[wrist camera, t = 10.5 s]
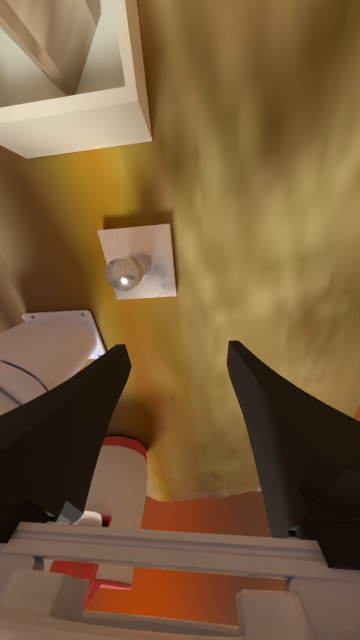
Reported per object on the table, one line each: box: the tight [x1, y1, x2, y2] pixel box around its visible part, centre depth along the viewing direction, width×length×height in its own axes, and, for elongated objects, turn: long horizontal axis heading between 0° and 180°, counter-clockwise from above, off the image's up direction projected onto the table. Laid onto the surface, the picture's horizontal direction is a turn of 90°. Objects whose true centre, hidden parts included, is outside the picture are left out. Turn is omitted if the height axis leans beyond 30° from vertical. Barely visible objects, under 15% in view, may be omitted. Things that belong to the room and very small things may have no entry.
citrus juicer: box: [43, 436, 147, 610], centre depth 28 cm, size 16×17×20 cm
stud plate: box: [98, 224, 177, 299], centre depth 14 cm, size 7×7×6 cm
